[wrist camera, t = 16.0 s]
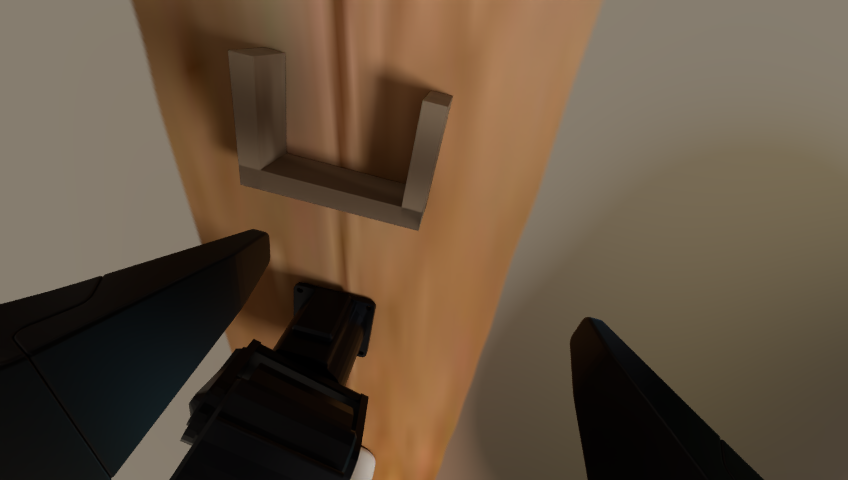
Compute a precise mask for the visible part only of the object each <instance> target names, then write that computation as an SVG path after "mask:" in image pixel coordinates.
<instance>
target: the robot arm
mask: <svg viewBox="0 0 848 480" xmlns="http://www.w3.org/2000/svg"><path fill="white" fill-rule="evenodd" d="M269 261H270V241H269V235H268V233H266V232H263V231H259V230H255V229H251V230H248V231H245V232H241V233H238V234H235V235H232V236H228V237H225V238H222V239H219V240H215V241H212V242H209V243H206V244H203V245H200V246H196V247H193V248H190V249H186V250H183V251H180V252H177V253H174V254H170V255H167V256H164V257H161V258H157V259H154V260H151V261H147V262H144V263H141V264H138V265H134V266H131V267H128V268H125V269H122V270H118V271H115V272H112V273H109V274H105V275H104V276H103V277H102V276H99V277H95V278H92V279H89V280H86V281H82V282H79V283H76V284H72V285H69V286H66V287H62V288H59V289H55V290H52V291H48V292H45V293H41V294H37V295H33V296H30V297H26V298H22V299H19V300H15V301H11V302H7V303H3V304H0V480H111V478H112V477H114V475H115V474H116V473H117V471H118V470H119V469H120V468H121V466H122V465H123V464H124V462H125V461H126V460H127V458H128V457H129V456H130V454H131V453H132V452H133V451H134V449H135V448H136V446H137V445H138V444H139V443H140V441H141V440H142V438H143V437H144V436H145V435H146V433H147V432H148V431H149V429H150V428H151V427H152V426H153V424H154V423H155V422H156V420H157V419H158V418H159V416H160V415H161V414H162V413H163V411H164V410H165V409H166V407H167V406H168V405H169V403H170V402H171V401H172V399H173V398H174V397H175V395H176V394H177V393H178V392H179V390H180V389H181V388H182V386H183V385H184V384H185V382H186V381H187V380H188V378H189V377H190V376H191V374H192V373H193V372H194V371H195V369H196V368H197V366H198V365H199V364H200V363H201V361H202V360H203V359H204V357H205V356H206V355H207V353H208V352H209V351H210V350H211V348H212V347H213V346H214V344H215V343H216V342H217V340H218V339H219V338H220V336H221V335H222V334H223V332H224V331H225V330H226V329H227V327H228V326H229V325H230V323H231V322H232V321H233V319H234V318H235V317H236V315H237V314H238V313H239V311H240V310H241V309H242V307H243V305H244V304H245V302H246V301H247V299H248V297H249V296H250V294H251V292H252V291H253V289H254V287H255V286H256V284H257V282H258V281H259V279H260V277H261V275H262V274H263V272H264V270H265V269H266V267H267V265H268V263H269ZM300 288H301V289H300ZM368 306H370V307H368ZM375 308H376V304H375V303H374V302H373V301H371V300H368V299H364V298H360V297H356V296H353V295H349V294H345V293H341V292H337V291H333V290H330V289H326V288H322V287H318V286H314V285H311V284H307V283H303V282H298V283H297V284H296V285H295V287H294V318H293V319H292V321H291V322H290V324H289V325H288V327H287V328H286V330H285V331H284V333H283V335H282V336H281V338H280V339H279V341H278V342H277V344H276V345H275V347H274V348H273V350H272V349H270V348H268V347H266V346H264V345H262V344H261V342H259V341H257V340H255V339H253V340H252V342H251V343H250V344H249V345H248V346H247V348H245V347H243V348H242V349H235V351H234V352H233V353H232V355H231V356H230V357H229V359H228V360H227V361H226V362H225V364H224V365H223V366H222V367H221V369H220V370H219V371H218V372H217V373H216V374H215V375H214V376H213V377H212V378H211V379H210V380H209V381H208V382H207V383H206V384H205V385H204V386H203V387H202V388H201V389H200V390H199V391H198V392H197V393H196V394H195V396H194V397H193V399H192V400H191V401H190V403H189V409H190V416H191V417H190V419H189V421H188V422H187V425H188V427H187V429H186V430H185V432H184V434H183V436H182V438H181V441H182V442H184V443H187V444H189V445H192V447H191V448H190V450H189V451H188V453H187V454H186V456H185V457H184V459H183V460H182V462H181V463H180V465H179V466H178V468H177V469H176V471H175V472H174V474H173V475H172V477H171V478H170V480H350V479H351V476H352V474H353V472H354V469H355V467H356V464H357V461H358V457H359V454H360V449H361V444H362V437H363V431H364V424H365V417H366V411H367V404H368V396H366V395H364V394H362V393H361V394H359V393H357V392H355V391H353V390H351V389H349V388H347V387H345V385H346V383H347V380H348V378H349V375H350V372H351V370H352V367H353V364H354V362H355V359H356V357H357V356H359V357H364V356H366V354H367V351H368V346H369V341H370V335H371V330H372V325H373V319H374V314H375ZM570 352H571V369H572V386H573V397H574V403H575V409H576V415H577V421H578V426H579V432H580V438H581V444H582V450H583V455H584V461H585V467H586V473H587V478H588V480H764V479H763V478H762V477H761V476H760V475H759V474H757V472H756V471H755V470H753V469H752V468H751V467H750V466H749V465H748V464H747V463H746V462H745V461H744V460H743V459H742V458H741V457H740V456H739V455H738V454H737V453H736V452H735V451H734V450H733V449H732V448H731V447H730V446H729V445H728V444H727V443H726V442H725V441H724V440H720V436H719V435H718V434H717V433H716V432H715V431H714V430H713V429H712V428H711V427H710V426H708V425H707V424H706V423H705V421H704V420H702V419H701V418H700V417H699V416H698V415H697V414H696V413H695V412H694V411H693V410H692V409H691V408H690V407H689V406H688V405H687V404H686V403H685V402H684V401H683V400H682V399H681V398H680V397H679V396H678V395H677V394H676V393H675V392H674V391H673V390H672V389H671V388H670V387H669V386H668V385H667V384H666V383H665V382H664V381H663V380H662V379H661V378H660V377H659V376H658V375H657V374H656V373H655V372H654V371H653V370H652V369H651V368H650V367H649V366H648V365H647V364H645V362H644V361H643V360H642V359H641V358H640V357H639V356H637V354H635V352H634V351H633V350H631V349H630V348H629V347H628V346H627V345H626V344H625V343H624V342H623V341H622V340H621V339H620V338H619V337H618V336H617V335H616V334H615V333H614V332H613V331H612V330H611V329H610V328H609V327H608V326H607V325H606V324H605V323H604V322H603V321H602V320H599V319H595V318H591V317H585V318H584V319H583V320H582V322H581V323H580V324H579V326H578V327H577V329H576V330H575V332H574V333H573V335H572V337H571V340H570Z"/></svg>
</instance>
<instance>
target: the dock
mask: <svg viewBox="0 0 848 480" xmlns="http://www.w3.org/2000/svg"><path fill="white" fill-rule="evenodd" d="M228 57H229V68H230V78H231V89H232V99H233V110H234V120H235V131H236V141H237V152H238V162H239V173H240V183H241V185H244V186H248V187H252V188H256V189H260V190H263V191H267V192H271V193H275V194H279V195H283V196H286V197H290V198H294V199H298V200H302V201H306V202H309V203H313V204H317V205H321V206H325V207H329V208H332V209H336V210H340V211H344V212H348V213H352V214H356V215H359V216H363V217H367V218H371V219H375V220H379V221H382V222H386V223H390V224H394V225H398V226H402V227H405V228H409V229H413V230H417V231H418V230H419V227H420V224H421V221H422V218H423V214H424V211H425V208H426V204H427V200H428V196H429V192H430V188H431V184H432V179H433V175H434V171H435V167H436V163H437V159H438V155H439V151H440V147H441V143H442V138H443V134H444V130H445V126H446V122H447V118H448V114H449V110H450V106H451V102H452V98H453V96H450V95H446V94H442V93H439V92H435V91H430V92H429V93H428V95H427V96H426V97H425V98H424V100H423V102H422V107H421V112H420V117H419V122H418V127H417V132H416V137H415V142H414V147H413V152H412V157H411V162H410V167H409V172H408V177H407V182H406V184H402V183H399V182H395V181H391V180H387V179H383V178H379V177H375V176H372V175H368V174H364V173H360V172H356V171H352V170H348V169H345V168H341V167H337V166H333V165H329V164H325V163H322V162H318V161H314V160H310V159H306V158H302V157H298V156H295V155H291V154H287V153H286V76H285V53H284V52H280V51H276V50H272V49H268V48H264V47H261V48H248V49H236V50H228Z"/></svg>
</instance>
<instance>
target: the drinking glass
mask: <svg viewBox="0 0 848 480" xmlns="http://www.w3.org/2000/svg"><path fill="white" fill-rule="evenodd" d="M374 469H375V458H374V456H373V455H372V453H371V452H369V451H368V450H367V449H365V448H363V447H361V449H360V454H359V457H358V461H357V464H356V467H355V469H354V472H353V474H352V476H351V479H350V480H372V477H373V473H374Z"/></svg>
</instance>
